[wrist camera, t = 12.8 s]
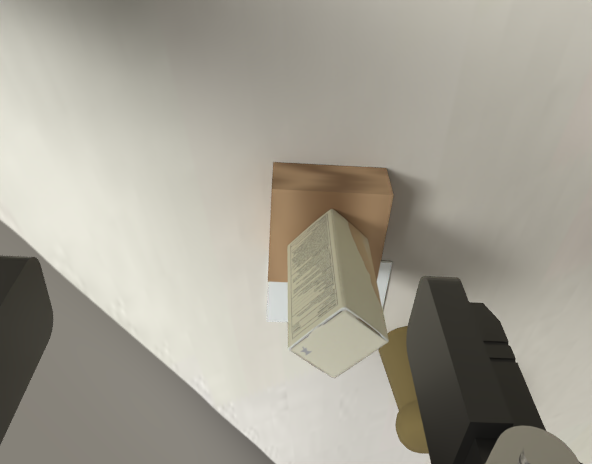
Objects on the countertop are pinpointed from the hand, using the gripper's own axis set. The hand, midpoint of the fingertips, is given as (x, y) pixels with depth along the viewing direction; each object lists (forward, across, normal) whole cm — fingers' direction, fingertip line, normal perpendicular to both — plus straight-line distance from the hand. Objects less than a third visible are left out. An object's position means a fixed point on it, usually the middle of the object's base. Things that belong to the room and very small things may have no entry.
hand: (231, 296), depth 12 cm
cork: (+30, -15, +34) cm, 48 cm away
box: (+26, -5, +18) cm, 32 cm away
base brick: (+30, -5, +18) cm, 35 cm away
